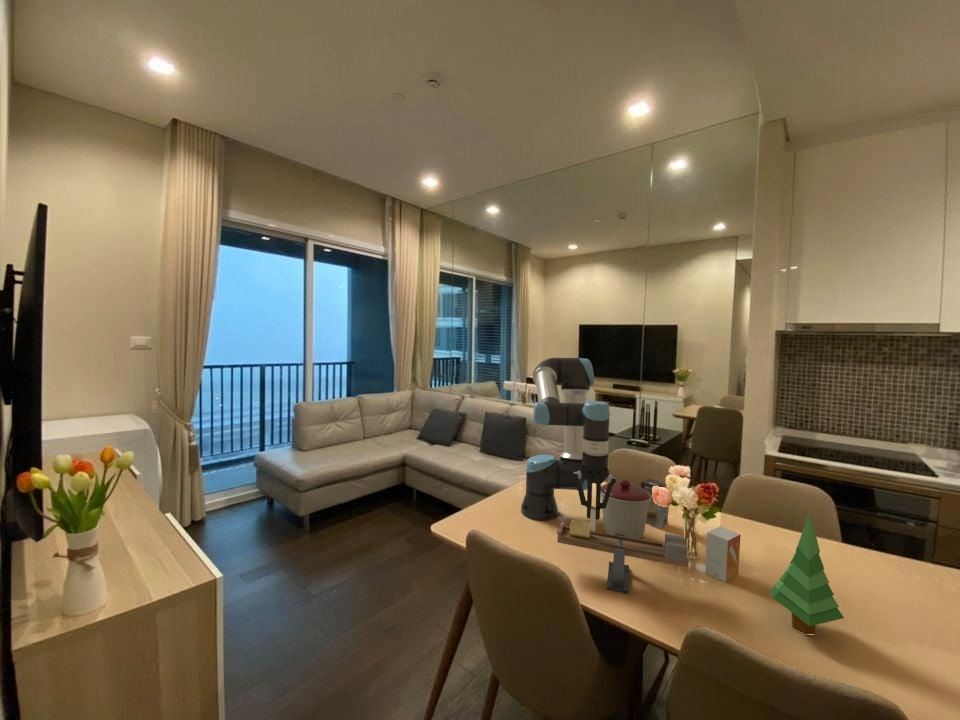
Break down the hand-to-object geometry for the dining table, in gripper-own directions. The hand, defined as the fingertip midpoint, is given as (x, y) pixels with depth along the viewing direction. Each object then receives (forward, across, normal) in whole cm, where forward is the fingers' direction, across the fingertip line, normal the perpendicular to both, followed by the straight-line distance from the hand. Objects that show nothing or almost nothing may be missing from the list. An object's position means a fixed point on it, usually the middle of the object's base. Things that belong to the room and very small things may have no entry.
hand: (592, 528), depth 123 cm
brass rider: (+3, -4, 0) cm, 5 cm away
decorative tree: (+14, +52, -5) cm, 54 cm away
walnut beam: (+4, +8, 0) cm, 9 cm away
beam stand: (+14, +8, 0) cm, 16 cm away
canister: (+14, +9, +29) cm, 33 cm away
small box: (+14, +38, +15) cm, 43 cm away
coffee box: (+14, +20, +45) cm, 51 cm away
